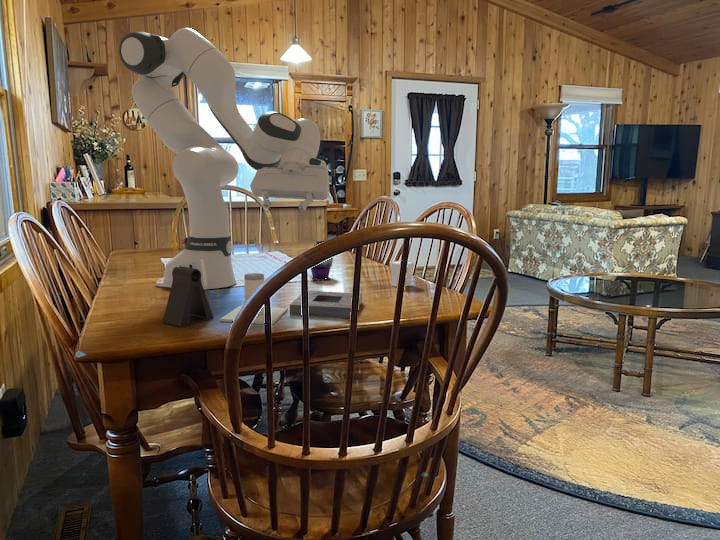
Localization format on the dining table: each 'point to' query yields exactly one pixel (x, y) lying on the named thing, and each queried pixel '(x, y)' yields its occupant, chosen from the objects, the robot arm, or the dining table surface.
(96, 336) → the dining table surface
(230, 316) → the mat
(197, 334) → the dining table surface
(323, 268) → the potion bottle
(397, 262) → the shot glass
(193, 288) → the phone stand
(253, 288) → the end cover
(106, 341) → the dining table surface
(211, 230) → the robot arm
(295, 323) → the dining table surface
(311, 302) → the block
